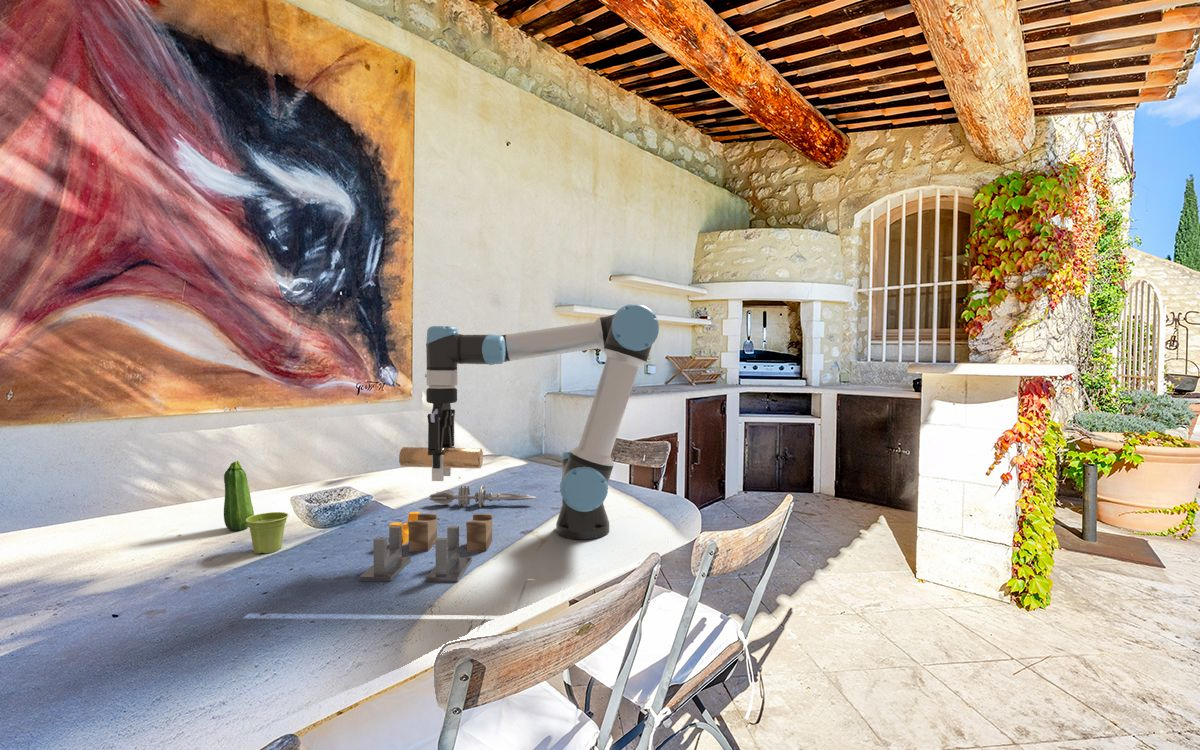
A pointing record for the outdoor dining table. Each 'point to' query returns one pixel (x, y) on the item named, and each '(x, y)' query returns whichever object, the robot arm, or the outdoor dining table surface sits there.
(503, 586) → the outdoor dining table surface
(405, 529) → the pipe clamp
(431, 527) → the walnut rest
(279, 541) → the plant pot
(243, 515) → the vegetable
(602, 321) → the robot arm
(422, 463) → the tube
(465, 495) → the spaceship
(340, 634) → the outdoor dining table surface
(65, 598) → the outdoor dining table surface
